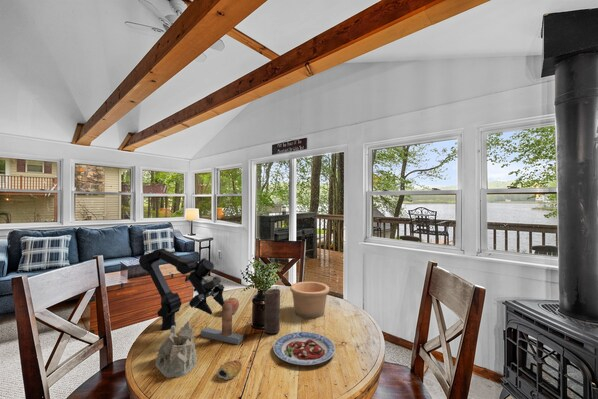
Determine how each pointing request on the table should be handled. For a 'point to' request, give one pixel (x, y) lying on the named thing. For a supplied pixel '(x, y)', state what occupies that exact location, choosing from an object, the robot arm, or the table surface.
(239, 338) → the ridge
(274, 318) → the candle
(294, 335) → the ceramic plate
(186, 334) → the grey castle model
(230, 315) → the rod
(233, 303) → the apple
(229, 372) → the pastry
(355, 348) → the table surface
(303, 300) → the pottery
